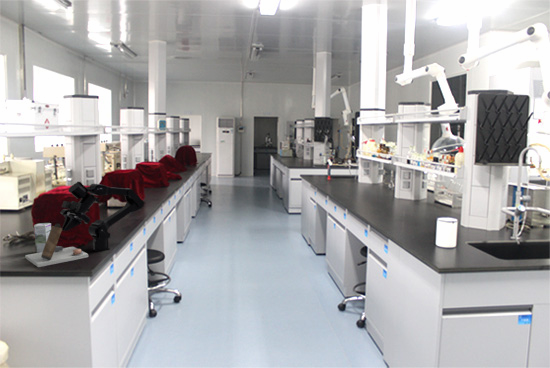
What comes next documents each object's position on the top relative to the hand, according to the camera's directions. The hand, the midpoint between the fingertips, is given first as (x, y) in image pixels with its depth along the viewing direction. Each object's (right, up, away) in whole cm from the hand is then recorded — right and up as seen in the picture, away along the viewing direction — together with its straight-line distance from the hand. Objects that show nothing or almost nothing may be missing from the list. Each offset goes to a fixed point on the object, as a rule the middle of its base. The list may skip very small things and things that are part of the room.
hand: (63, 230), depth 196 cm
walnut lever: (-5, -12, -6) cm, 14 cm away
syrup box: (-16, -13, +13) cm, 24 cm away
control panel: (-4, -13, +2) cm, 14 cm away
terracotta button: (+6, -11, +2) cm, 13 cm away
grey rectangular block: (-7, -10, +8) cm, 15 cm away
